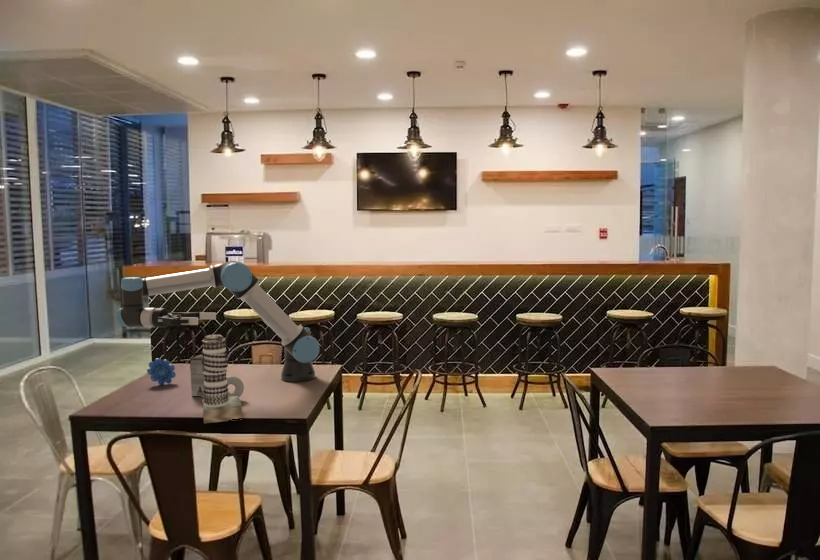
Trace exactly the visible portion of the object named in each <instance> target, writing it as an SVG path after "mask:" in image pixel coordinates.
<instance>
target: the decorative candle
mask: <svg viewBox="0 0 820 560" xmlns="http://www.w3.org/2000/svg"><path fill="white" fill-rule="evenodd" d="M201 342H202V347H203V348H202V351H200V354H202V355H203V356H202V358H201V359H202V360H203V361H202V365H204V366H203V368H202V369H203V374H204V375H205V376H204V378H205V381H204V387H203V388H204V389H205V390H204V393H206V394H205V395H204V397H203V398H204V402H205V404H204V406H206V407H222V406H225V405H227V404H228V403H229V402H228V399H229V398H228V395H229V394H228V392H227V391H229V388H228V387H229V385H228V384H227V379H226V377H227V373H228V369H227V368H228V367H229V365H228V362H229V361H228V360H227V358H228V357H229V355H227V354H228V352H229V351H228V350H227V348H226V338H224V336H223V335H222V334H208V335H206V336H204V338H203V339H202V340H201Z"/></svg>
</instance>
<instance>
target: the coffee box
mask: <svg viewBox="0 0 820 560" xmlns="http://www.w3.org/2000/svg"><path fill="white" fill-rule="evenodd" d="M202 356H203V355H202V354H201V353H200V354H198V355H195V356H193V357H190V358H189V366H190V367H189V368H190V369H189V370H190V387H191V388H190V389H191V397H192V396H202V397H201V398H204V395H205V394H206V393H204V390H205V389H204V388H203V387H204V381H205V378H204V376H205V375H204V374H203V369H202V368H203V366H204V365H202V361H203V360H202V359H201V358H202Z"/></svg>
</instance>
